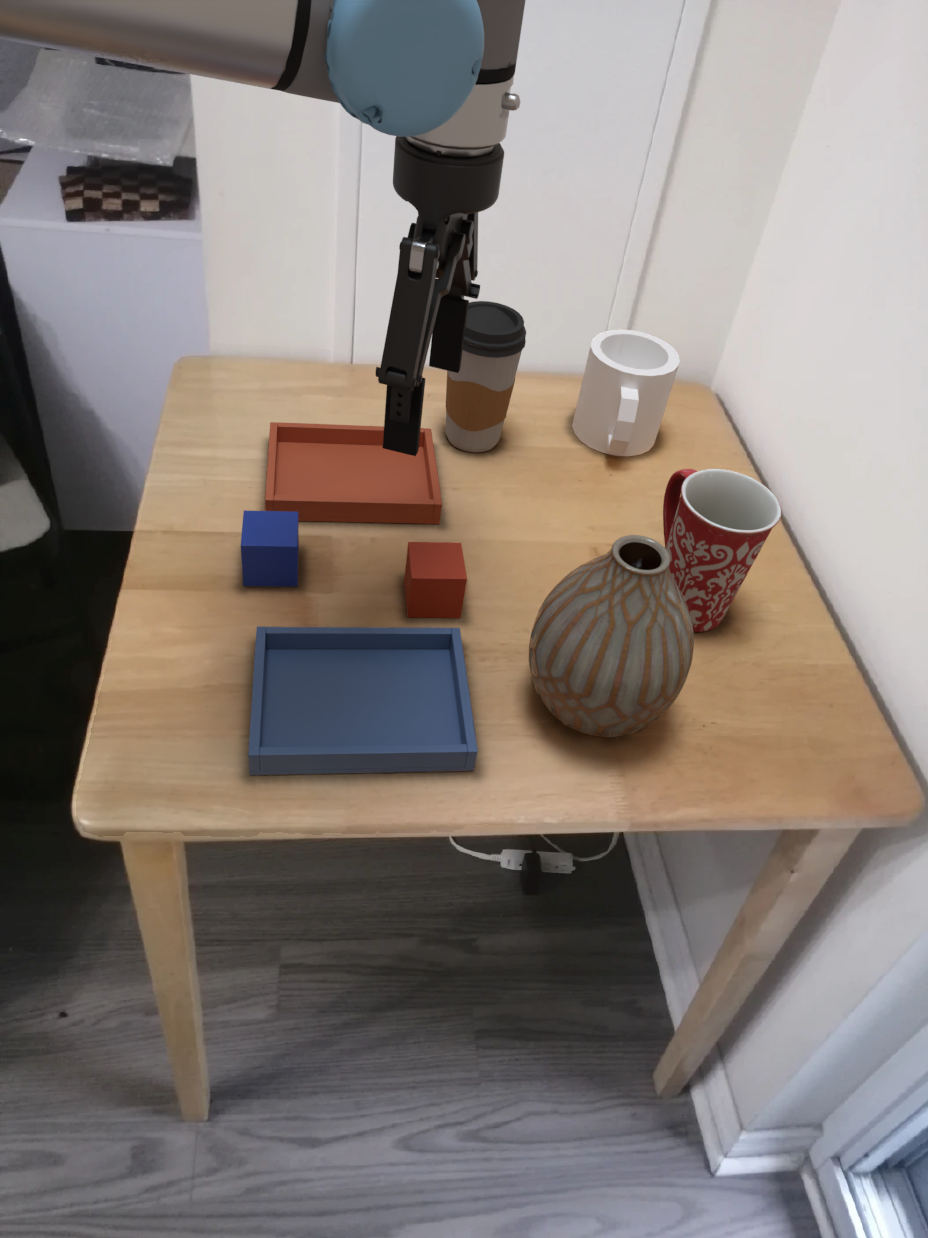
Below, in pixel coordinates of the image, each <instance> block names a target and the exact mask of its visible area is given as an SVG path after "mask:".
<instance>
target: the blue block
mask: <svg viewBox="0 0 928 1238" xmlns="http://www.w3.org/2000/svg"><path fill="white" fill-rule="evenodd" d="M299 537H300V535H299V521H298V512H288V511H266V510H247V509H246V510H243V514H242V527H241V536H240V556H241V557H240V558H241V574H242V586H243V587H278V588H279V587H282V588H283V587H286V588H287V587H289V588H291V587H292V588H297V587H299V558H300V556H299V551H300V548H299V547H300V545H299V544H300V543H299V542H300V541H299Z"/></svg>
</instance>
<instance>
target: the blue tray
mask: <svg viewBox="0 0 928 1238" xmlns="http://www.w3.org/2000/svg"><path fill="white" fill-rule="evenodd" d="M255 628H256V629H255V642H254V643H255V646H254V662H253V674H252V675H253V676H252V689H251V691H252V692H251V707H250V720H249V721H250V722H249V735H248V736H249V737H248V753H247V759H248V770H249V771H248V773H249V775H250V776H274V775H275V776H279V775H280V776H281V775H283V776H284V775H324V774H325V775H333V774H336V775H337V774H377V773H378V774H379V773H380V774H381V773H382V774H383V773H431V772H433V773H435V772H473V771H475V766H476V763H477V756H478V752H479V750H478V743H477V737H476V736H477V735H476V729H475V723H474V715H473V709H472V702H471V701H472V700H471V694H470V689H469V681H468V675H467V668H466V661H465V654H464V647H463V640H462V634H461V628H460V627H409V626H408V627H401V626H399V627H398V626H397V627H395V626H394V627H389V626H388V627H387V626H382V627H381V626H379V627H378V626H376V627H375V626H256V627H255Z"/></svg>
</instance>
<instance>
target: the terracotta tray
mask: <svg viewBox="0 0 928 1238" xmlns="http://www.w3.org/2000/svg"><path fill="white" fill-rule="evenodd" d="M268 433H269V434H268V449H267V450H268V451H267V465H266V481H265V495H264V504H265V505H264V507H265V509H264V510H265V511H288V512H298V522H331V523H332V522H333V523H334V522H338V523H339V522H340V523H377V524H379V523H382V524H383V523H384V524H422V525H424V524H425V525H440V523H441V517H442V509H443V508H442V507H443V501H442V494H441V486H440V480H439V475H438V473H439V472H438V467H437V459H436V454H435V446H434V440H433V432H432V428H429V427H421V428H420V439H419V449H418V453H417V455H416V456H412V455H408V454H404V453H400V452H396V451H392V450H388V449H384V448H383V436H384V425H357V424H356V425H355V424H331V423H330V424H329V423H308V422H307V423H305V422H303V423H302V422H283V421H281V422H275V421H274V422H273V421H271V422H269V432H268Z"/></svg>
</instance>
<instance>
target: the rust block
mask: <svg viewBox="0 0 928 1238" xmlns="http://www.w3.org/2000/svg"><path fill="white" fill-rule="evenodd" d="M406 548H407V549H406V558H405V569H404V577H403V583H404V595H405V604H406V605H405V606H406V615H407V616H406V617H407V618H411V619H412V618H413V619H415V618H416V619H417V618H418V619H419V618H422V619H425V618H427V619H461V618H462V613H463V607H464V601H465V595H466V589H467V583H468V576H467V570H466V564H465V558H464V551H463V545H462V542H450V541H449V542H448V541H447V542H446V541H443V542H442V541H408V542H407V547H406Z"/></svg>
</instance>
